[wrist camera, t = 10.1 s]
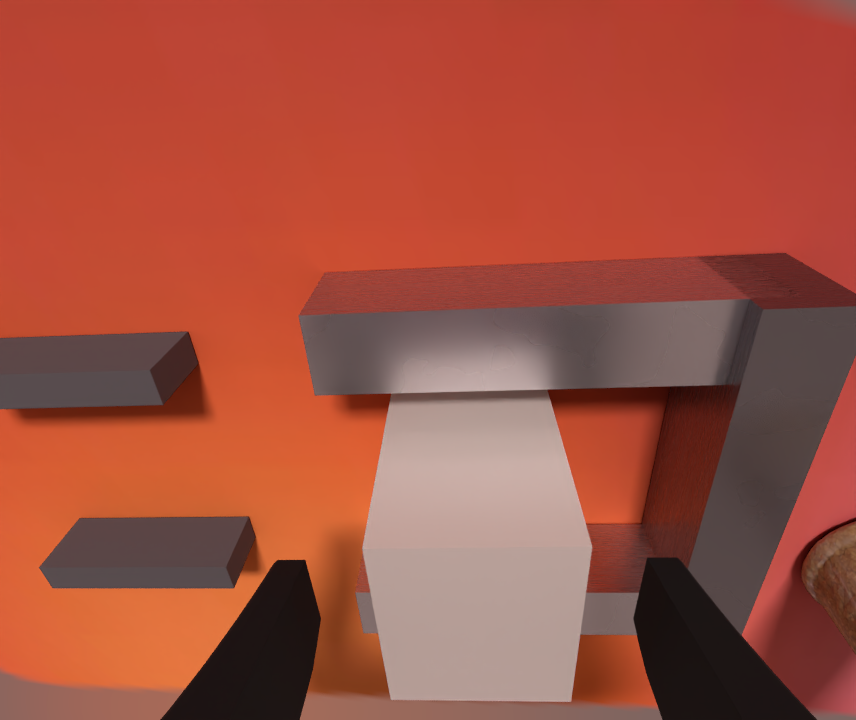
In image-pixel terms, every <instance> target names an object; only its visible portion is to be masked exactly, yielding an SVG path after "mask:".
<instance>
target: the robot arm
mask: <svg viewBox="0 0 856 720" xmlns="http://www.w3.org/2000/svg"><path fill="white" fill-rule="evenodd" d="M633 620H634V624H635V629H636V633H637V637H638V642H639V646H640V650H641V654H642V658H643V662H644V666H645V670H646V673H647V676H648V679H649V682H650V685H651V688H652V691H653V694H654V696H655V699H656V702H657V705H658V708H659V711H660V714H661V716H662V719H663V720H817V719H816V718H815V717H814V716H813V715H812V714H811V713H810V712H809V711H808V710H807V709H806V708H805V706H804V705H803V704H802V703H801V702H800V701H799V700H798V699H797V698H796V697H795V696H794V695H793V694H792V693H791V691H790V690H789V689H788V688H787V687H786V686H785V685H784V684H783V683H782V681H781V680H780V679H779V678H778V677H777V676H776V675H775V674H774V673H773V671H772V670H771V669H770V668H769V667H768V666H767V665H766V663H765V662H764V661H763V660H762V659H761V658H760V656H759V655H758V654H757V653H756V652H755V651H754V650H753V648H752V647H751V646H750V645H749V644H748V643H747V642H746V640H745V639H744V638H743V637H742V636H741V634H740V633H739V632H738V631H737V630H736V629H735V627H734V626H733V625H732V624H731V623H730V621H729V620H728V619H727V618H726V616H725V615H724V614H723V613H722V612H721V610H720V609H719V608H718V607H717V605H716V604H715V603H714V602H713V600H712V599H711V598H710V597H709V595H708V594H707V593H706V592H705V590H704V589H703V588H702V587H701V585H700V584H699V583H698V582H697V580H696V579H695V578H694V577H693V575H692V574H691V573H690V571H689V570H688V569H687V568H686V566H685V565H684V564H683V562H682V561H681V560H680V559H679V558H677V557H672V558H647V560H646V564H645V569H644V573H643V577H642V582H641V586H640V591H639V595H638V600H637V604H636V608H635V613H634V617H633ZM320 621H321V617H320V613H319V610H318V606H317V602H316V598H315V595H314V591H313V587H312V583H311V580H310V576H309V572H308V569H307V565H306V561H305V560H277V561H276V562H275V563H274V564H273V566H272V567H271V569H270V570H269V572H268V573H267V575H266V576H265V578H264V580H263V581H262V583H261V584H260V586H259V587H258V589H257V590H256V592H255V593H254V595H253V596H252V598H251V599H250V601H249V602H248V604H247V605H246V607H245V608H244V610H243V611H242V612H241V614H240V615H239V617H238V618H237V620H236V621H235V623H234V624H233V625H232V627H231V628H230V630H229V631H228V632H227V634H226V635H225V637H224V638H223V639H222V641H221V642H220V643H219V645H218V646H217V648H216V649H215V650H214V652H213V653H212V655H211V656H210V657H209V659H208V660H207V661H206V663H205V664H204V665H203V667H202V668H201V669H200V671H199V672H198V673H197V675H196V676H195V677H194V678H193V680H192V681H191V682H190V683H189V685H188V686H187V687H186V689H185V690H184V691H183V692H182V694H181V695H180V696H179V698H178V699H177V700H176V701H175V703H174V704H173V705H172V707H171V708H170V709H169V710H168V711H167V713H166V714H165V715H164V716H163V717H162V719H161V720H300V716H301V712H302V708H303V705H304V701H305V697H306V693H307V690H308V686H309V682H310V678H311V674H312V670H313V665H314V659H315V653H316V647H317V641H318V634H319V627H320Z"/></svg>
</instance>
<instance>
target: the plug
mask: <svg viewBox="0 0 856 720" xmlns="http://www.w3.org/2000/svg"><path fill="white" fill-rule="evenodd" d="M362 550H363V556H364V561H365V566H366V572H367V577H368V582H369V587H370V593H371V598H372V603H373V609H374V614H375V619H376V624H377V630H378V635H379V640H380V646H381V651H382V656H383V661H384V667H385V672H386V677H387V683H388V688H389V693H390V698H391V700H436V701H528V702H571V698H572V691H573V684H574V677H575V669H576V662H577V655H578V647H579V640H580V633H581V626H582V618H583V611H584V604H585V596H586V589H587V582H588V575H589V567H590V560H591V553H592V544H591V540H590V537H589V533H588V530H587V526H586V523H585V519H584V516H583V512H582V509H581V505H580V502H579V498H578V495H577V491H576V488H575V484H574V481H573V477H572V474H571V471H570V467H569V464H568V460H567V457H566V453H565V450H564V446H563V443H562V439H561V436H560V432H559V429H558V425H557V422H556V418H555V415H554V411H553V408H552V404H551V401H550V397H549V394H548V390H547V389H545V390H506V391H467V392H428V393H391V398H390V403H389V408H388V414H387V419H386V424H385V430H384V435H383V441H382V446H381V451H380V457H379V462H378V467H377V473H376V478H375V483H374V489H373V494H372V499H371V505H370V510H369V515H368V521H367V526H366V531H365V537H364V542H363V547H362Z"/></svg>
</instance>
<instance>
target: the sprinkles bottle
mask: <svg viewBox="0 0 856 720" xmlns="http://www.w3.org/2000/svg"><path fill="white" fill-rule="evenodd" d="M801 578H802V581H803V583H804V585H805V587H806V589H807V591H808V592H809V593H810V594H811V596H812V597H813V598H814V599H815V600H816V601H817V602H818V603H819V604H821V605H822V606H823V607H824V608H825V610H826V611H827V612H828V614H829V616H830V617H831V619H832V620H833V622H834V623H835V625H836V626H837V628H838V629H839V631H840V632H841V634H842V635H843V637H844V638H845V639H846V641H847V642H848V644H849V645H850V647H851V648H852V650H853V651H854V653H855V654H856V521H855V522H853V523H850V524H847V525H845V526H842V527H840V528H838V529H836V530H834V531H832V532H830V533H829V534H828V535H826V536H825V537H823V538H822V539H821V540H819V541H818V542H817V543H816V544H815V545H814V546H813V547H812V549H811V550H810V552H809V553H808V555H807V557H806V558H805V560H804V562H803V566H802V572H801Z"/></svg>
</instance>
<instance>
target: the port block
mask: <svg viewBox="0 0 856 720" xmlns="http://www.w3.org/2000/svg"><path fill="white" fill-rule="evenodd" d="M299 320H300V325H301V330H302V335H303V339H304V344H305V349H306V354H307V359H308V364H309V369H310V374H311V378H312V383H313V388H314V393H315V395H350V394H389V393H428V392H467V391H506V390H545V389H584V388H623V387H662V386H670V391H669V396H668V401H667V406H666V410H665V415H664V420H663V425H662V429H661V434H660V439H659V444H658V449H657V453H656V458H655V463H654V468H653V473H652V477H651V482H650V487H649V492H648V497H647V501H646V506H645V511H644V516H643V521H642V524H596V525H586V526H587V530H588V533H589V537H590V540H591V544H592V553H591V560H590V567H589V575H588V582H587V589H586V596H585V604H584V611H583V618H582V626H581V633H580V635H637V633H636V629H635V624H634V620H633V617H634V613H635V608H636V604H637V600H638V595H639V591H640V586H641V582H642V577H643V573H644V569H645V564H646V560H647V558H672V557H677V558H679V559H680V560H681V561H682V562H683V564H684V565H685V566H686V568H687V569H688V570H689V571H690V573H691V574H692V575H693V577H694V578H695V579H696V580H697V582H698V583H699V584H700V585H701V587H702V588H703V589H704V590H705V592H706V593H707V594H708V595H709V597H710V598H711V599H712V600H713V602H714V603H715V604H716V605H717V607H718V608H719V609H720V610H721V612H722V613H723V614H724V615H725V616H726V618H727V619H728V620H729V621H730V623H731V624H732V625H733V626H734V627H735V629H736V630H737V631H738V632H739V633H740V634H741V635H742V633H743V630H744V628H745V625H746V623H747V620H748V618H749V616H750V613H751V611H752V608H753V606H754V603H755V601H756V598H757V596H758V593H759V591H760V589H761V586H762V584H763V581H764V579H765V576H766V574H767V571H768V569H769V567H770V564H771V562H772V559H773V557H774V554H775V552H776V549H777V547H778V544H779V542H780V540H781V537H782V535H783V532H784V530H785V527H786V525H787V522H788V520H789V518H790V515H791V513H792V510H793V508H794V505H795V503H796V500H797V498H798V495H799V493H800V491H801V488H802V486H803V483H804V481H805V478H806V476H807V473H808V471H809V468H810V466H811V464H812V461H813V459H814V456H815V454H816V451H817V449H818V446H819V444H820V442H821V439H822V437H823V434H824V432H825V429H826V427H827V424H828V422H829V419H830V417H831V415H832V412H833V410H834V407H835V405H836V402H837V400H838V397H839V395H840V393H841V390H842V388H843V385H844V383H845V380H846V378H847V375H848V373H849V370H850V368H851V366H852V363H853V361H854V358H855V356H856V294H855V293H853V292H852V291H850V290H848V289H847V288H845V287H843V286H841V285H840V284H838V283H836V282H834V281H833V280H831V279H829V278H828V277H826V276H824V275H822V274H821V273H819V272H817V271H815V270H814V269H812V268H810V267H809V266H807V265H805V264H803V263H802V262H800V261H798V260H796V259H795V258H793V257H791V256H790V255H788V254H786V253H777V254H753V255H730V256H706V257H682V258H659V259H635V260H611V261H588V262H564V263H541V264H517V265H493V266H470V267H446V268H422V269H399V270H375V271H351V272H328V273H324V275H323V276H322V278H321V280H320V281H319V283H318V285H317V286H316V288H315V289H314V291H313V293H312V294H311V296H310V298H309V299H308V301H307V302H306V304H305V306H304V307H303V309H302V311H301V312H300V314H299ZM355 593H356V598H357V603H358V608H359V613H360V618H361V623H362V628H363V632H364V633H378V630H377V624H376V619H375V614H374V609H373V603H372V598H371V593H370V587H369V582H368V577H367V572H366V566H365V561H364V556H363V554H362V559H361V565H360V570H359V576H358V581H357V586H356V592H355Z"/></svg>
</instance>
